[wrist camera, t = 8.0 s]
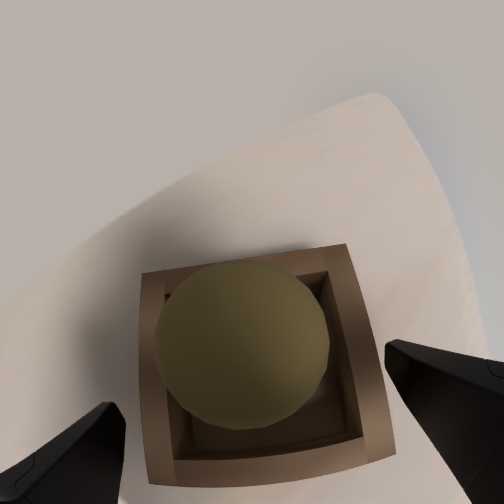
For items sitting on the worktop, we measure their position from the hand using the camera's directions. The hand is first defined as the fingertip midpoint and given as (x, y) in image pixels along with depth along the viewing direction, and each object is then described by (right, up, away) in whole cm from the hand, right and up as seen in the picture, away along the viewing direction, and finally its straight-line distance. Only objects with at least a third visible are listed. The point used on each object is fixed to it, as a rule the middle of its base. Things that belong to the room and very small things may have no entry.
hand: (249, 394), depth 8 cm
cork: (0, -3, +8) cm, 9 cm away
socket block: (+1, -3, +9) cm, 9 cm away
